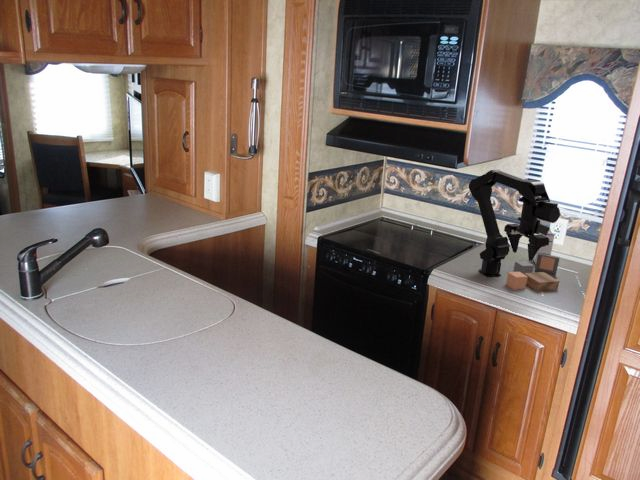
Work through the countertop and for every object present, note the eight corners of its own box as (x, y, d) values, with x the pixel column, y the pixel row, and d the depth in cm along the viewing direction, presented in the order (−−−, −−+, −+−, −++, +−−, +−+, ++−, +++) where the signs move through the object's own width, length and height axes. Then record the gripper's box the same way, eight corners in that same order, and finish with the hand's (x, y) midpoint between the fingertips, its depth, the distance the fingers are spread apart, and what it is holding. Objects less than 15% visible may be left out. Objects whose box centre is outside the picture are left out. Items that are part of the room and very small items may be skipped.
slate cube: (520, 277, 217) (522, 266, 215) (512, 272, 221) (515, 261, 220) (531, 277, 218) (533, 265, 217) (523, 272, 223) (525, 260, 221)
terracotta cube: (513, 289, 205) (516, 277, 204) (505, 284, 210) (508, 272, 208) (525, 289, 207) (527, 276, 205) (517, 283, 211) (519, 271, 209)
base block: (536, 292, 205) (539, 282, 203) (522, 282, 213) (524, 273, 212) (557, 290, 207) (559, 281, 206) (541, 281, 215) (543, 272, 214)
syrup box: (549, 266, 231) (556, 233, 227) (534, 264, 232) (541, 231, 228) (546, 261, 237) (553, 229, 232) (532, 259, 238) (538, 227, 233)
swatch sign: (533, 274, 221) (537, 255, 219) (534, 270, 225) (538, 252, 223) (555, 278, 218) (559, 259, 216) (555, 274, 223) (559, 255, 220)
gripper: (565, 222, 193) (557, 263, 198) (531, 208, 210) (524, 247, 215) (539, 223, 190) (531, 265, 195) (506, 209, 207) (500, 249, 212)
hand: (522, 256), depth 204 cm, fingers open, 9 cm apart
